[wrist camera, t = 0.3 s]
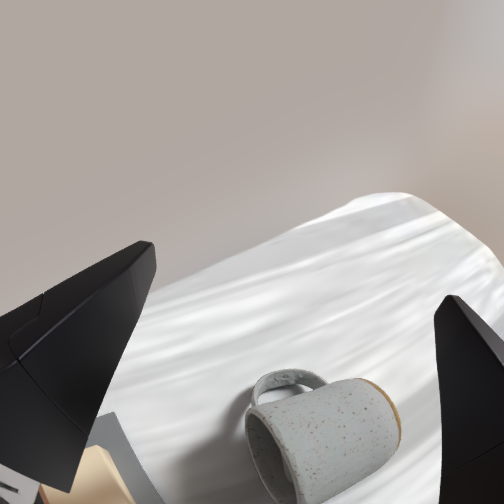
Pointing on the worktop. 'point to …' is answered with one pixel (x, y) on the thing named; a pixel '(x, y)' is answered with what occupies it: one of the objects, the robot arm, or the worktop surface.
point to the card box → (93, 482)
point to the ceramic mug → (319, 435)
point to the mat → (120, 459)
